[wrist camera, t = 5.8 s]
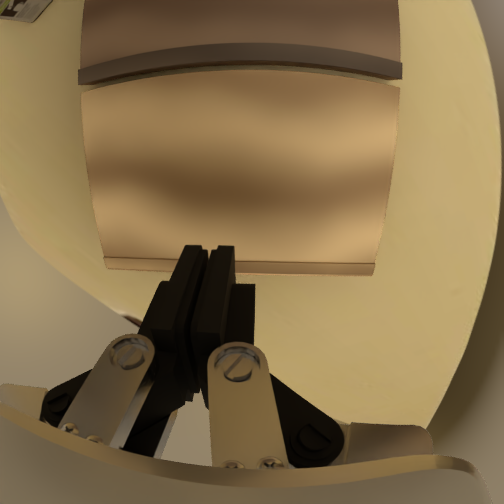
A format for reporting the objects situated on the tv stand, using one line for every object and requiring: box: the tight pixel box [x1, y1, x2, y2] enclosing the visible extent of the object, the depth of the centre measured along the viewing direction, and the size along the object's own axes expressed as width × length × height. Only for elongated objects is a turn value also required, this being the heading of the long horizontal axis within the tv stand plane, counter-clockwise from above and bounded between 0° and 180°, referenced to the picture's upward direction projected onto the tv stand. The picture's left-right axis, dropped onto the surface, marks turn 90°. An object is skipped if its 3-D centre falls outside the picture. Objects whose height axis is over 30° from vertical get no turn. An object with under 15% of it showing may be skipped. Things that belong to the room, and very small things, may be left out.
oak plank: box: [81, 70, 400, 276], centre depth 16 cm, size 12×18×2 cm, turn 90°
